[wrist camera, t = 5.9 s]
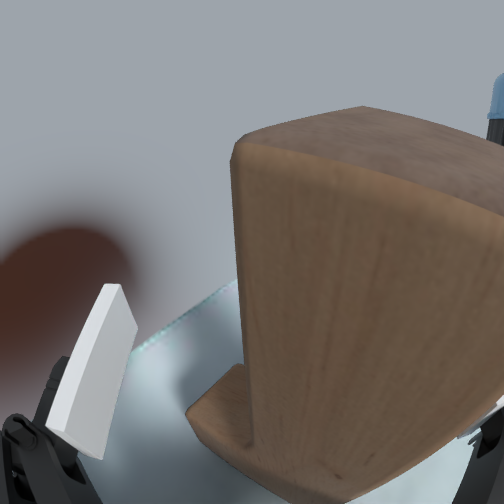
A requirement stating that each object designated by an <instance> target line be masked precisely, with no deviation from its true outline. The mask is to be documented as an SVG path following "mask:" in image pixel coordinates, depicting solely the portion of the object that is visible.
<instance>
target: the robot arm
mask: <svg viewBox="0 0 504 504" xmlns="http://www.w3.org/2000/svg"><path fill="white" fill-rule="evenodd" d="M487 118H488V119H490V120H489V126H488V133H487V138H486V140H488V141H491V142H494V143H496V144H499V145H501V146H504V73H503V74H501V75H500V76H499V77H498V78H497V79H496V81H495V83H494V88H493V95H492V101H491V107H490V112H489V113H488V114H487ZM137 330H138V327H137V325H136V322H135V320H134V318H133V315H132V313H131V310H130V308H129V305H128V303H127V300H126V298H125V295H124V293H123V290H122V287H121V285H120V284H104V286H103V288H102V290H101V292H100V294H99V296H98V298H97V300H96V302H95V304H94V306H93V308H92V310H91V312H90V314H89V317H88V319H87V321H86V323H85V325H84V327H83V330H82V332H81V334H80V336H79V339H78V341H77V343H76V345H75V348H74V350H73V352H72V355H71V357H65V356H62V357H61V359H60V360H59V361H58V362H57V363H56V364H55V365H54V367H53V369H52V372H51V374H50V377H49V378H50V379H49V380H48V382H47V384H46V389H44V392H43V394H42V397H41V400H40V403H39V405H38V408H37V411H36V414H35V417H34V419H33V421H32V422H30V421H29V420H28V419H27V418H26V417H24V416H23V415H21V414H12V415H11V416H9V417H8V418H7V419H6V421H5V422H4V424H3V428H2V431H0V504H103V503H102V501H101V500H100V498H99V496H98V494H97V493H96V491H95V489H94V487H93V485H92V483H91V482H90V480H89V478H88V476H87V474H86V472H85V470H84V468H83V466H82V464H81V461H80V460H79V458H78V457H77V453H78V451H79V452H81V453H82V454H84V455H85V456H89V457H92V458H96V459H100V460H103V457H104V452H105V448H106V443H107V439H108V434H109V430H110V426H111V422H112V418H113V413H114V410H115V406H116V402H117V398H118V394H119V391H120V387H121V383H122V380H123V376H124V373H125V369H126V366H127V362H128V359H129V356H130V352H131V349H132V345H133V343H134V339H135V336H136V333H137ZM479 427H480V428H481V432H479V433H478V434H477V435H475V436H474V437H473V438H472V439H470V441H469V443H468V445H470V444H472V443H473V442H474V441H476V442H475V443H474V444H473V447H474V449H473V452H472V455H471V458H470V461H469V464H468V466H467V469H466V472H465V474H464V477H463V479H462V482H461V484H460V486H459V489H458V491H457V493H456V496H455V498H454V500H453V502H452V504H504V395H503V396H502V397H501V398H500V399H499V400H498V401H497V402H496V403H495V404H494V405H493V406H492V407H491V408H489V409H488V410H487V411H486V412H485V413H484V414H483V415H482V416H481V417H479V418H478V419H477V420H476V421H475V422H474V423H473V424H471V425H470V426H469V427H468V428H467V429H465V430H464V431H463V432H462V433H460V434H459V435H458V436H457V438H458V439H459V438H462V437H464V436H467V435H469V434H472V433H473V432H474V431H475V430H477V429H478V428H479ZM12 471H14V476H13V472H12Z"/></svg>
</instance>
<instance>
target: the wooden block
mask: <svg viewBox="0 0 504 504" xmlns="http://www.w3.org/2000/svg"><path fill="white" fill-rule="evenodd" d="M230 173H231V189H232V205H233V221H234V236H235V250H236V264H237V278H238V291H239V304H240V317H241V329H242V342H243V354H244V365H245V366H244V365H242V364H236V365H234V366H233V367H232V368H231V369H230V370H229V371H228V372H227V373H226V374H225V375H224V376H223V377H222V378H221V379H219V380H218V381H217V382H216V383H215V384H214V385H213V386H212V387H211V388H210V389H209V390H208V391H207V392H206V393H205V394H203V395H202V396H201V397H200V398H199V399H198V400H197V401H196V402H195V403H194V404H193V405H192V406H190V407H189V408H188V409H187V411H186V413H185V415H186V417H187V419H188V421H189V423H190V425H191V426H192V428H193V430H194V432H195V433H196V435H197V437H198V439H199V441H200V442H202V443H203V444H204V445H205V446H207V447H208V448H209V449H210V450H212V451H213V452H214V453H216V454H217V455H218V456H220V457H221V458H222V459H224V460H225V461H226V462H228V463H229V464H230V465H232V466H233V467H235V468H236V469H237V470H239V471H240V472H242V473H243V474H245V475H246V476H247V477H249V478H250V479H252V480H253V481H255V482H257V483H258V484H260V485H261V486H263V487H264V488H266V489H267V490H269V491H271V492H272V493H274V494H276V495H277V496H279V497H281V498H282V499H284V500H286V501H288V502H289V503H291V504H345V503H347V502H349V501H351V500H354V499H356V498H358V497H360V496H362V495H364V494H366V493H368V492H370V491H372V490H374V489H376V488H378V487H380V486H381V485H383V484H385V483H387V482H389V481H391V480H392V479H394V478H396V477H398V476H399V475H401V474H403V473H404V472H406V471H408V470H409V469H411V468H412V467H414V466H416V465H417V464H419V463H420V462H422V461H423V460H425V459H426V458H428V457H429V456H431V455H432V454H434V453H435V452H436V451H438V450H439V449H441V448H442V447H443V446H445V445H446V444H447V443H449V442H450V441H451V440H453V439H454V438H455V437H457V436H458V435H459V434H460V433H462V432H463V431H464V430H465V429H467V428H468V427H469V426H470V425H471V424H473V423H474V422H475V421H476V420H477V419H478V418H479V417H481V416H482V415H483V414H484V413H485V412H486V411H487V410H488V409H489V408H491V407H492V406H493V405H494V404H495V403H496V402H497V401H498V400H499V399H500V398H501V397H502V396H503V395H504V146H501V145H499V144H496V143H494V142H491V141H488V140H485V139H483V138H480V137H478V136H475V135H472V134H469V133H466V132H463V131H460V130H457V129H454V128H451V127H447V126H444V125H441V124H437V123H434V122H430V121H427V120H423V119H419V118H415V117H412V116H407V115H403V114H399V113H395V112H390V111H386V110H381V109H375V108H370V107H365V106H360V107H354V108H349V109H343V110H338V111H333V112H328V113H324V114H319V115H314V116H310V117H305V118H301V119H297V120H293V121H288V122H284V123H280V124H277V125H273V126H269V127H265V128H262V129H259V130H256V131H253V132H251V133H248V134H245V135H243V137H241V138H240V139H239V140H238V141H237V142H236V143H235V145H234V149H233V153H232V156H231V160H230Z"/></svg>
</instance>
